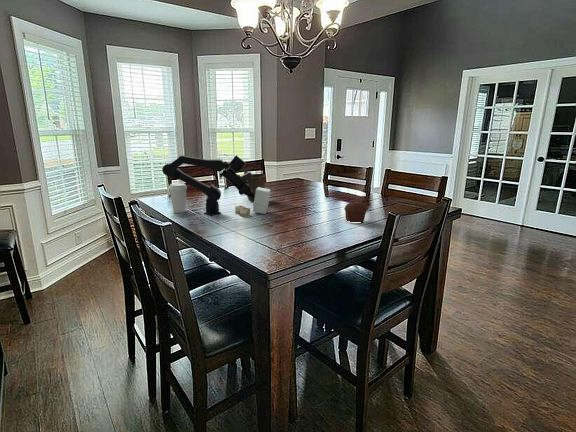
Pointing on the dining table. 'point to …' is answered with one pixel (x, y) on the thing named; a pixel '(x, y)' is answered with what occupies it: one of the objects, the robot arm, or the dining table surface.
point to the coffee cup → (178, 197)
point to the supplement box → (261, 200)
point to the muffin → (355, 211)
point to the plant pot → (256, 183)
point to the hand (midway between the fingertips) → (255, 197)
